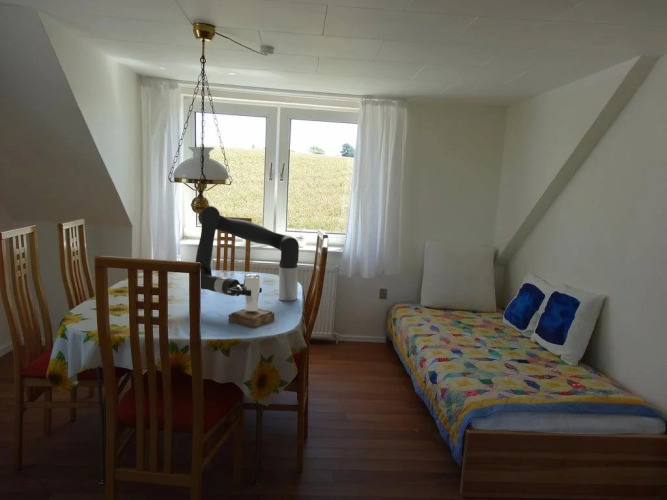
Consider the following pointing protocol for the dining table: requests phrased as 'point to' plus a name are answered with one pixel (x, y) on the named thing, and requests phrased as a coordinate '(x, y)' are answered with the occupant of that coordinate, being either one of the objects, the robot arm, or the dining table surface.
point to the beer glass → (252, 292)
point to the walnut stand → (251, 317)
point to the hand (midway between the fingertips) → (255, 292)
